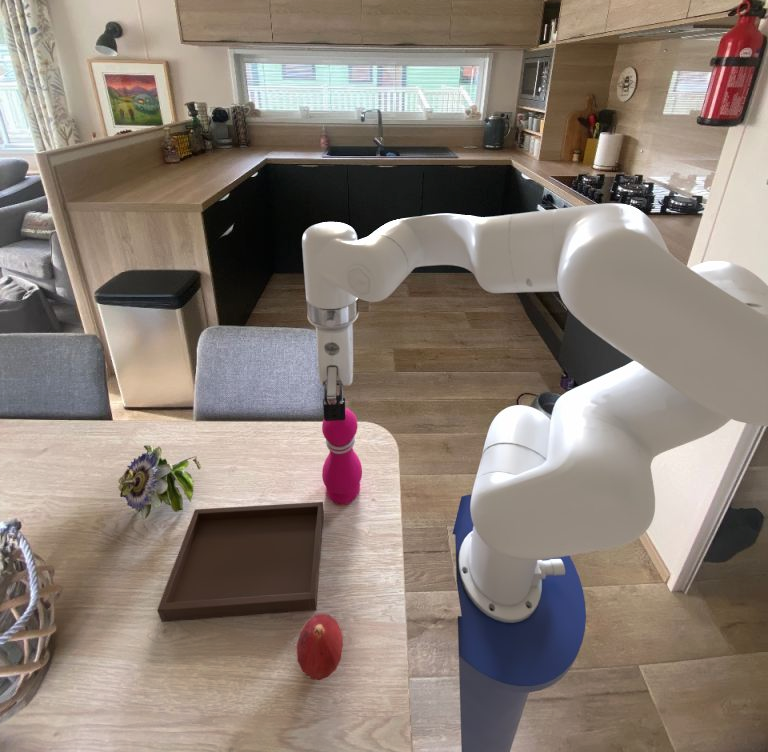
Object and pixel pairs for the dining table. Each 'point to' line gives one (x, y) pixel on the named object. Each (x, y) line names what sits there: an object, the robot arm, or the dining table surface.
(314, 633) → the onion
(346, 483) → the pepper mill
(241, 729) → the dining table surface
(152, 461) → the passion flower
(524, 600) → the robot arm
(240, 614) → the tray
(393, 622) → the dining table surface
